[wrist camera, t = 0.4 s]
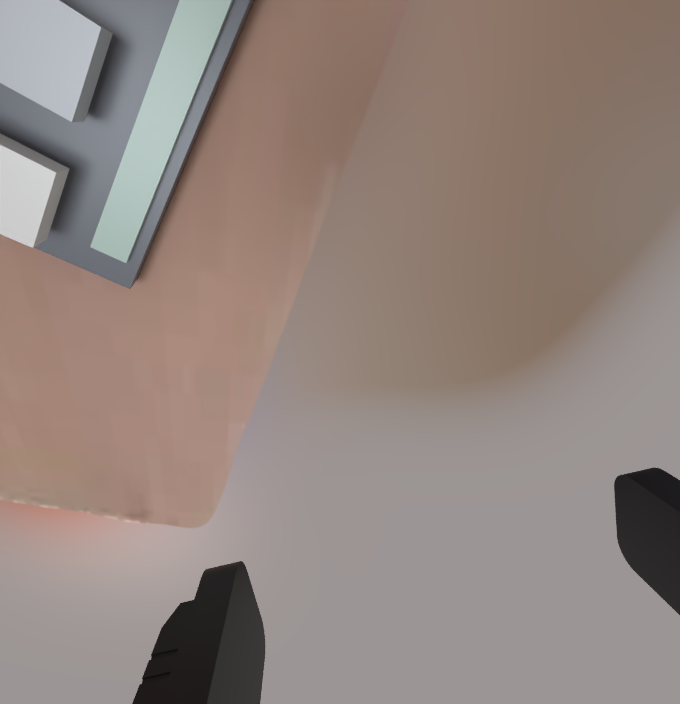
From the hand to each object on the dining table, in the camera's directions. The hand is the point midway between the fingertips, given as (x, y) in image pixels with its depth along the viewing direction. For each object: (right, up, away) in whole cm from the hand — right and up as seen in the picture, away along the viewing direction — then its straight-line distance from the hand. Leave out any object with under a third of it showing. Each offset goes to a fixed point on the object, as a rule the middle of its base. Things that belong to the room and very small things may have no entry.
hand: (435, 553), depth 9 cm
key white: (-22, +15, +17) cm, 32 cm away
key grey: (-18, +21, +15) cm, 31 cm away
